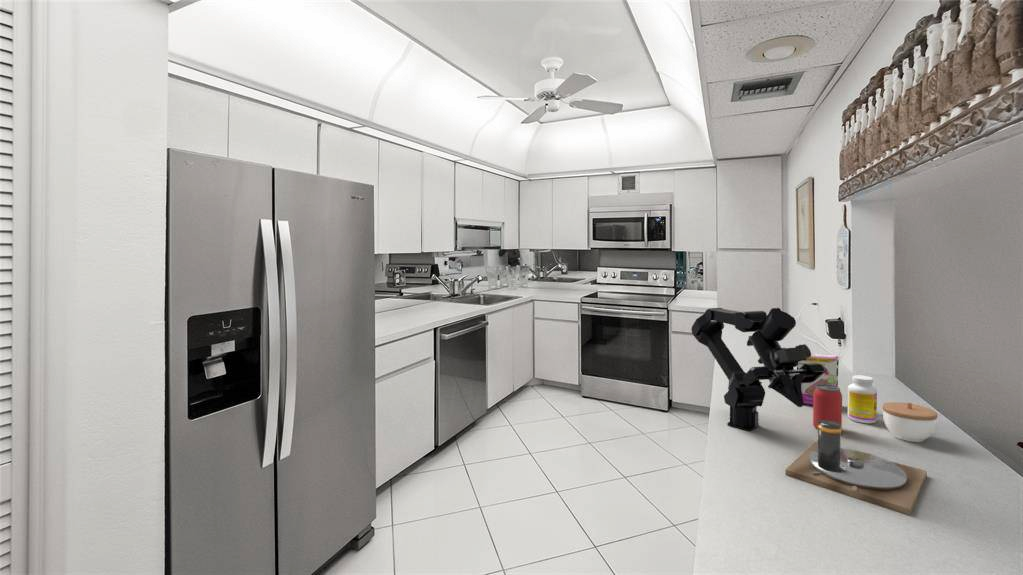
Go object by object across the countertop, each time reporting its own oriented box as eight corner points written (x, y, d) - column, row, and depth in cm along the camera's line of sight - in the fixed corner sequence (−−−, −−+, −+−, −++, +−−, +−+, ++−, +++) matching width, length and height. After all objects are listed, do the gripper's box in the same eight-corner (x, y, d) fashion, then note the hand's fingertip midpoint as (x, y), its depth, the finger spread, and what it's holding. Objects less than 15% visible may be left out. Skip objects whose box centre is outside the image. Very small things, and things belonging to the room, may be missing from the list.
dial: (855, 449, 105) (856, 405, 105) (929, 486, 89) (931, 434, 88) (791, 455, 104) (791, 410, 103) (853, 494, 87) (855, 440, 86)
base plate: (785, 474, 98) (785, 468, 98) (814, 446, 111) (814, 440, 111) (910, 515, 82) (910, 507, 81) (926, 476, 95) (926, 469, 95)
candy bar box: (795, 404, 141) (796, 355, 140) (795, 399, 145) (795, 351, 144) (838, 409, 135) (839, 358, 134) (836, 404, 139) (837, 355, 138)
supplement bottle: (878, 425, 122) (879, 381, 121) (849, 421, 125) (849, 378, 124) (874, 418, 128) (875, 375, 127) (846, 414, 131) (846, 373, 130)
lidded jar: (938, 449, 107) (939, 413, 106) (881, 438, 114) (882, 404, 113) (934, 435, 115) (936, 401, 114) (882, 426, 122) (882, 393, 121)
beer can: (846, 433, 118) (847, 391, 117) (819, 432, 119) (820, 390, 118) (833, 424, 124) (834, 383, 123) (808, 423, 125) (809, 383, 124)
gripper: (750, 335, 106) (782, 393, 96) (820, 331, 108) (858, 387, 97) (731, 359, 114) (758, 414, 104) (796, 355, 116) (829, 409, 106)
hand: (801, 406), depth 103 cm, fingers closed
